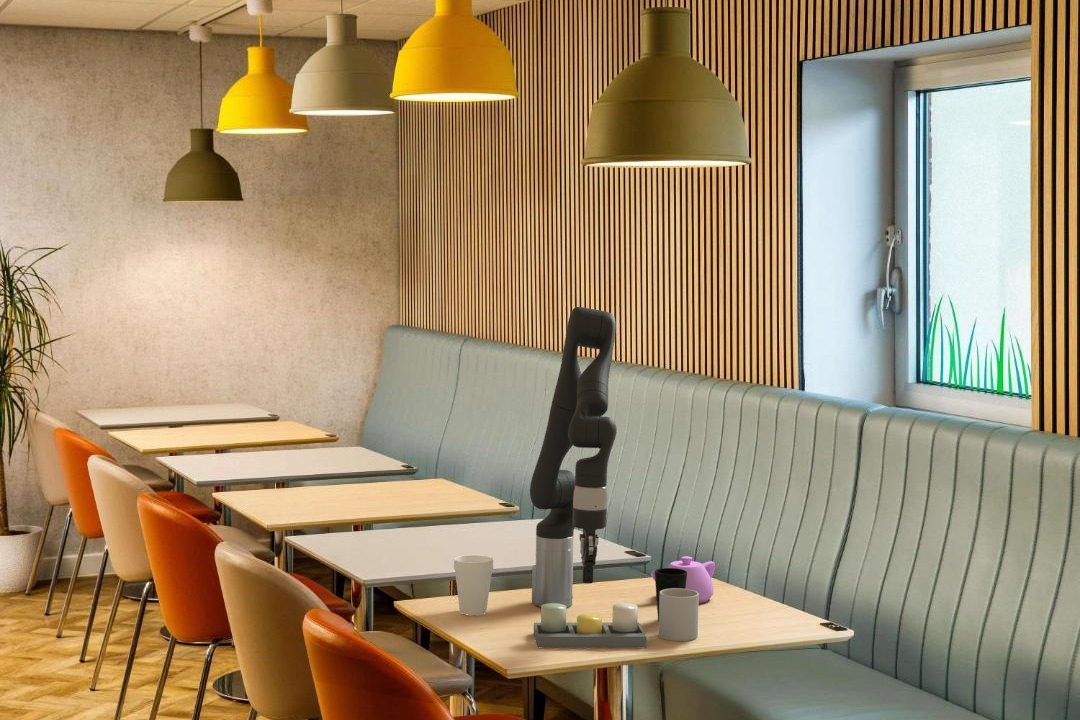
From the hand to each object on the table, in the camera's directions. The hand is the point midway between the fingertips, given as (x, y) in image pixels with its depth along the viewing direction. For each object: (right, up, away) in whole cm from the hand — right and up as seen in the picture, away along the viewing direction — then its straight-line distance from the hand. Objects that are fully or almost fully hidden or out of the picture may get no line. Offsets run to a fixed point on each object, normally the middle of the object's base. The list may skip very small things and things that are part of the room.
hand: (587, 582), depth 305 cm
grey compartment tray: (0, -13, +1) cm, 13 cm away
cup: (+20, -12, +19) cm, 30 cm away
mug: (+21, -13, +6) cm, 26 cm away
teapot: (+26, -11, +42) cm, 50 cm away
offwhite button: (+8, -10, +1) cm, 13 cm away
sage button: (-8, -10, 0) cm, 13 cm away
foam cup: (-27, -11, +24) cm, 38 cm away
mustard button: (0, -13, +1) cm, 13 cm away
